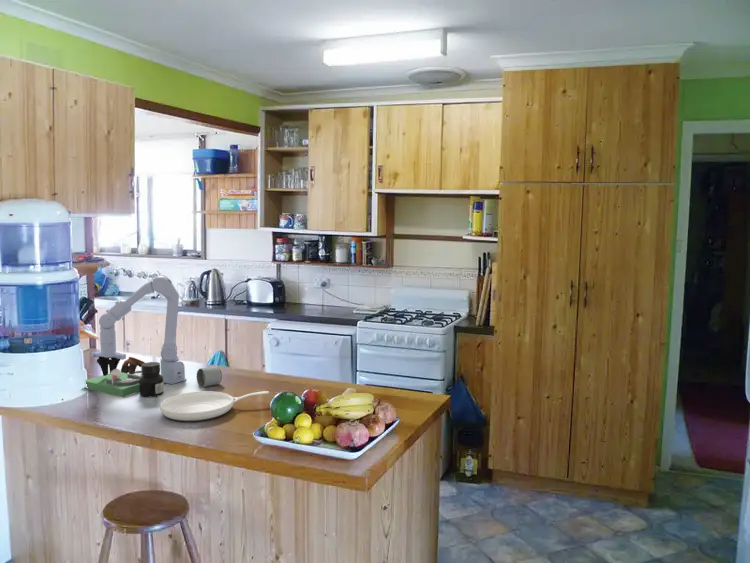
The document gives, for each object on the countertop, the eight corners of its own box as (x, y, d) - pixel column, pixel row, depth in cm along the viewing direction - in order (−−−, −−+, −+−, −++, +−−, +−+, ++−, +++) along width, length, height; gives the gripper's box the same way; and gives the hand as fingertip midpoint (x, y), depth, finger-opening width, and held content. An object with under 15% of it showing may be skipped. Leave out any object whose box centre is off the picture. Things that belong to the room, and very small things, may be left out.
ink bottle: (163, 397, 234) (162, 366, 233) (138, 399, 232) (137, 368, 231) (164, 389, 244) (163, 360, 242) (140, 391, 241) (139, 361, 240)
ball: (123, 379, 249) (124, 370, 248) (114, 383, 246) (115, 373, 244) (116, 374, 251) (117, 365, 250) (107, 378, 247) (108, 368, 246)
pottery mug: (118, 373, 270) (126, 355, 273) (139, 381, 273) (147, 363, 276) (119, 373, 259) (127, 354, 262) (141, 380, 262) (149, 362, 265)
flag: (118, 395, 237) (116, 374, 236) (116, 395, 237) (115, 375, 236) (113, 394, 238) (112, 373, 237) (112, 394, 238) (111, 374, 237)
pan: (159, 406, 225) (158, 393, 224) (263, 394, 238) (262, 382, 237) (161, 428, 201) (160, 414, 201) (276, 415, 215) (275, 401, 214)
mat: (156, 386, 248) (155, 376, 248) (122, 397, 235) (121, 386, 234) (117, 378, 260) (116, 368, 260) (83, 387, 247) (82, 377, 246)
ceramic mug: (223, 385, 250) (223, 366, 249) (205, 389, 244) (204, 370, 244) (210, 380, 258) (209, 362, 257) (192, 384, 252) (191, 366, 251)
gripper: (130, 341, 250) (130, 374, 252) (98, 339, 253) (99, 371, 255) (119, 345, 243) (120, 378, 245) (87, 343, 247) (88, 376, 248)
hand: (109, 375), depth 250 cm, fingers open, 3 cm apart
